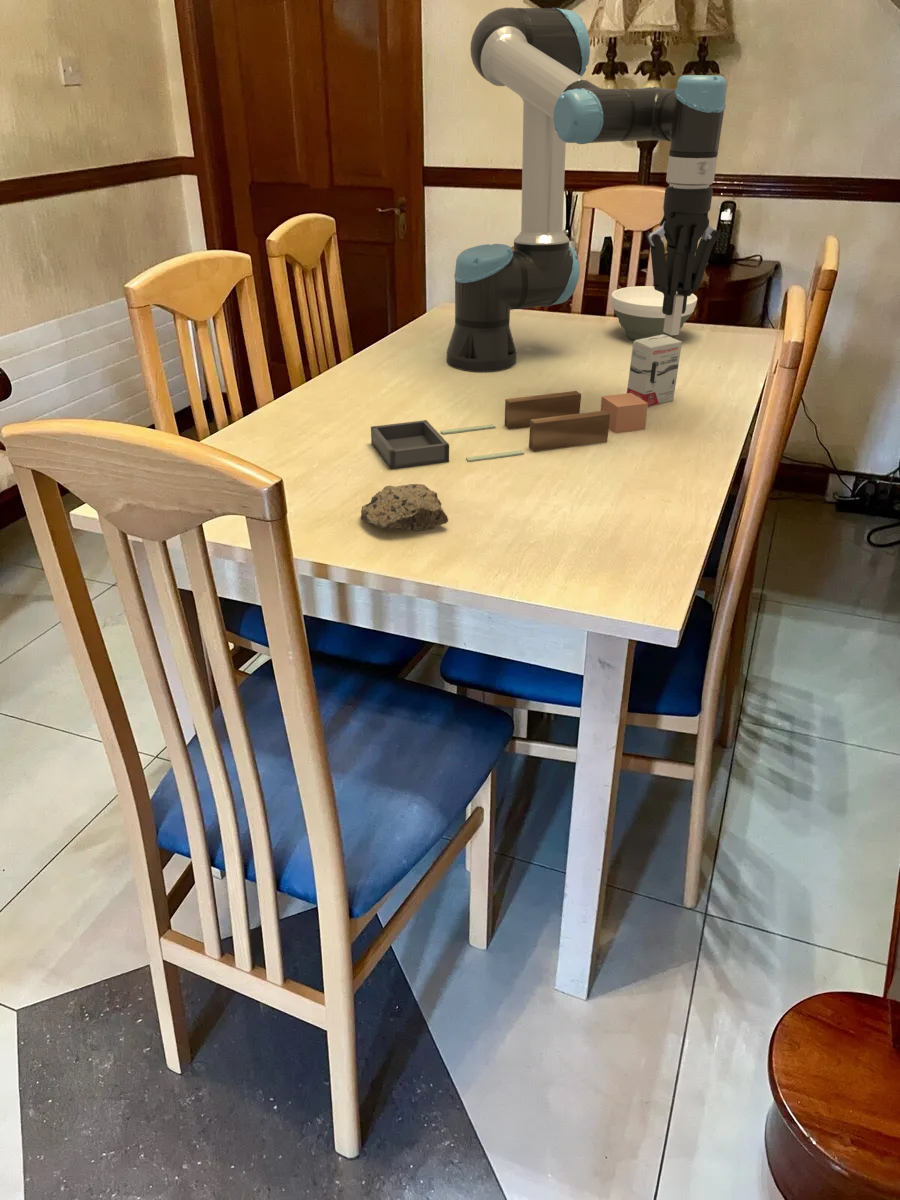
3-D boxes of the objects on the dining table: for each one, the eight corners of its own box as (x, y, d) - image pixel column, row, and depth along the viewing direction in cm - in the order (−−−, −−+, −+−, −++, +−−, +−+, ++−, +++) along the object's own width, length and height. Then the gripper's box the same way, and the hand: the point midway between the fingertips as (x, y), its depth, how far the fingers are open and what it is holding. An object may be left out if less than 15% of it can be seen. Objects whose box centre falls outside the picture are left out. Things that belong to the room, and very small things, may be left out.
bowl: (699, 349, 206) (706, 306, 201) (613, 348, 206) (618, 305, 201) (682, 326, 223) (687, 286, 218) (602, 325, 223) (606, 285, 218)
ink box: (642, 408, 172) (650, 346, 166) (624, 401, 176) (631, 340, 169) (674, 400, 176) (683, 339, 170) (656, 393, 180) (664, 333, 173)
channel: (504, 425, 164) (505, 398, 161) (574, 416, 168) (576, 390, 165) (533, 451, 153) (535, 423, 151) (607, 441, 157) (610, 414, 155)
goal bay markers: (440, 432, 161) (440, 430, 161) (492, 425, 164) (492, 424, 164) (468, 461, 149) (468, 460, 149) (524, 454, 152) (524, 452, 152)
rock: (357, 508, 135) (355, 481, 133) (433, 501, 137) (433, 474, 135) (369, 541, 126) (367, 513, 123) (450, 533, 128) (450, 504, 126)
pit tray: (371, 443, 156) (370, 426, 155) (426, 436, 159) (426, 420, 158) (390, 469, 147) (390, 452, 145) (449, 461, 149) (449, 444, 148)
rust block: (599, 422, 166) (601, 396, 163) (628, 419, 168) (631, 392, 165) (614, 434, 161) (617, 407, 158) (644, 430, 163) (647, 403, 160)
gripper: (666, 189, 141) (649, 341, 153) (737, 186, 145) (715, 335, 157) (642, 184, 147) (627, 331, 159) (711, 181, 151) (691, 324, 163)
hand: (671, 333), depth 158 cm, fingers closed
